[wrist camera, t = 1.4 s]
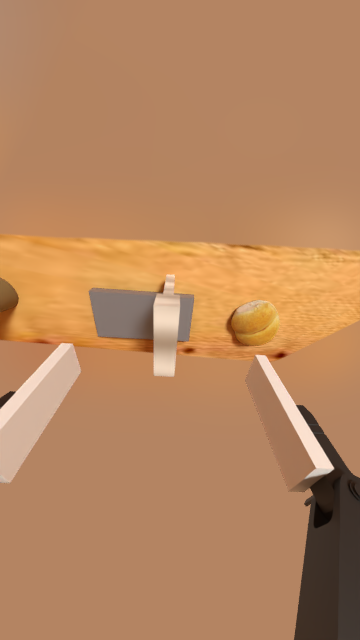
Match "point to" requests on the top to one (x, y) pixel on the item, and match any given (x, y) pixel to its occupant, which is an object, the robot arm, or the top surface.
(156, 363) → the gate
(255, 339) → the bread roll
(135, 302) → the board
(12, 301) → the olive mushroom
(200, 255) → the top surface
